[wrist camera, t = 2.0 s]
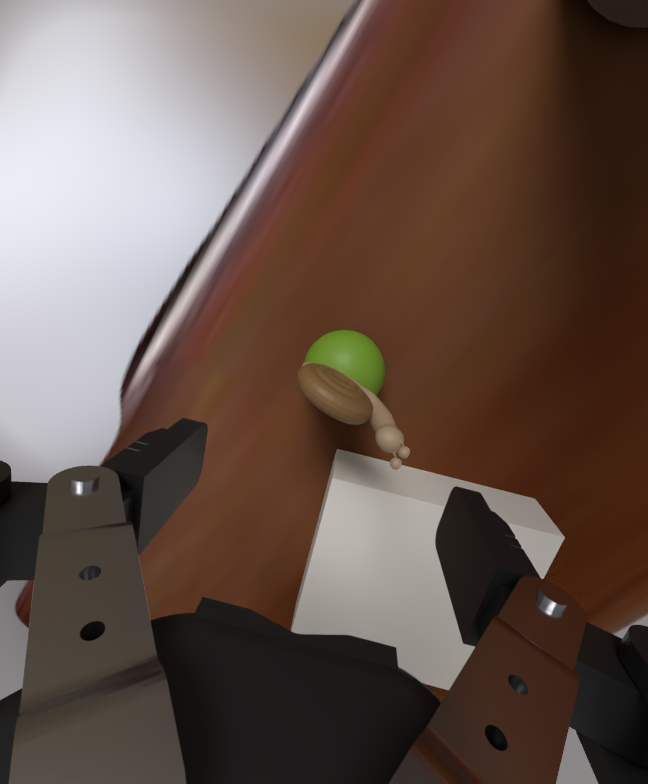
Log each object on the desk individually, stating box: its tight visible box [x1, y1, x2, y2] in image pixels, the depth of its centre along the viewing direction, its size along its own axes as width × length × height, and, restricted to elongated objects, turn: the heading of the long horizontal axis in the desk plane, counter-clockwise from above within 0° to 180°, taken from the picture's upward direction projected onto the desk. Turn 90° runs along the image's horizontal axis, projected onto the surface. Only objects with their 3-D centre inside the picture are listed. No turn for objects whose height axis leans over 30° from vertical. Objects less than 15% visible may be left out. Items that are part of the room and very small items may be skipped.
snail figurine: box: [296, 330, 410, 470], centre depth 22 cm, size 5×6×12 cm
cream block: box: [291, 449, 565, 690], centre depth 30 cm, size 16×16×5 cm
